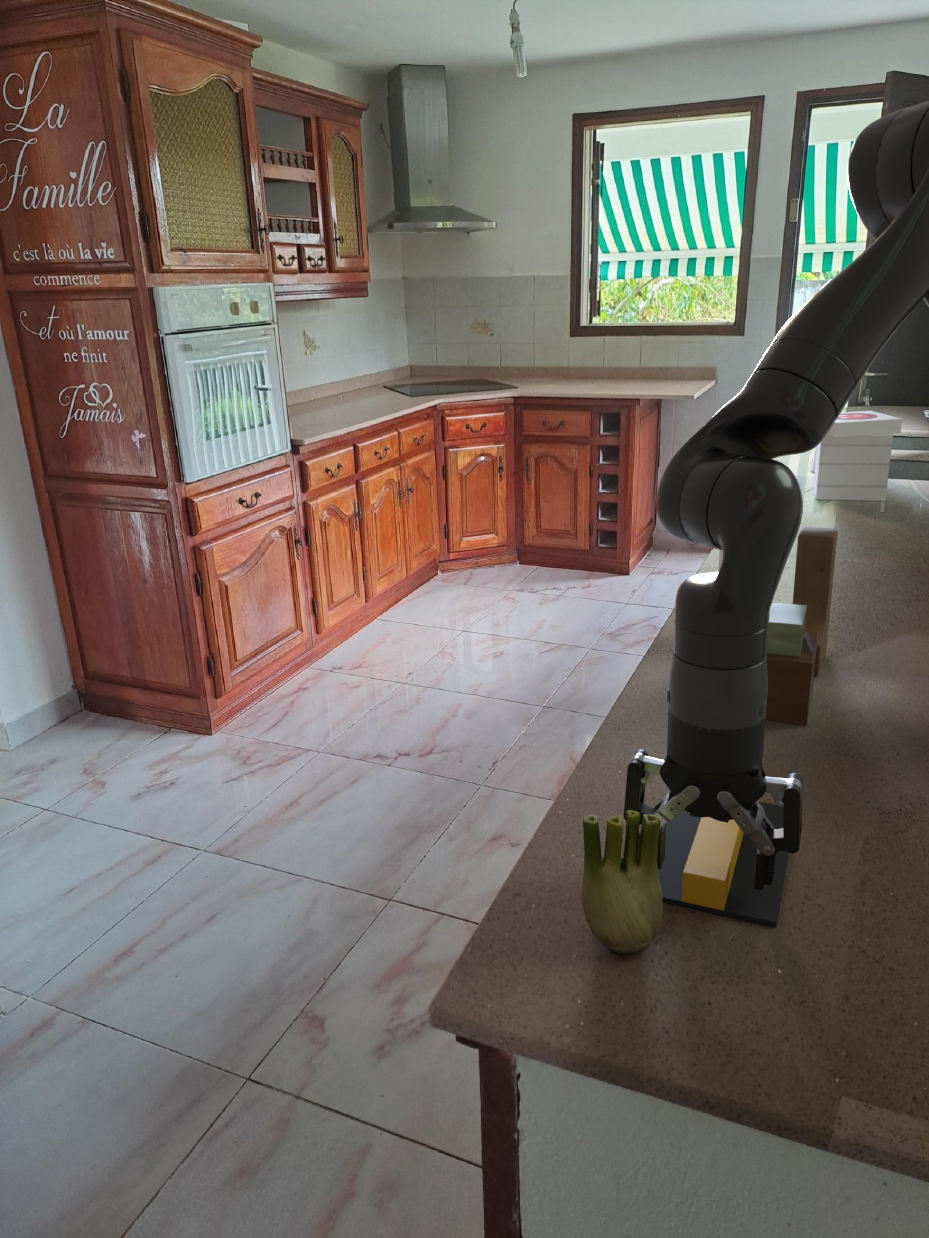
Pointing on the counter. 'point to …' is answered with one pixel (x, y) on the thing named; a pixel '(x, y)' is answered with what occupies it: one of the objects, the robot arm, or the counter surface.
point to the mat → (741, 892)
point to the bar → (711, 863)
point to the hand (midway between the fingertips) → (707, 873)
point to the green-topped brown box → (789, 664)
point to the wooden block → (816, 582)
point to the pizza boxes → (855, 457)
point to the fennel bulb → (622, 882)
